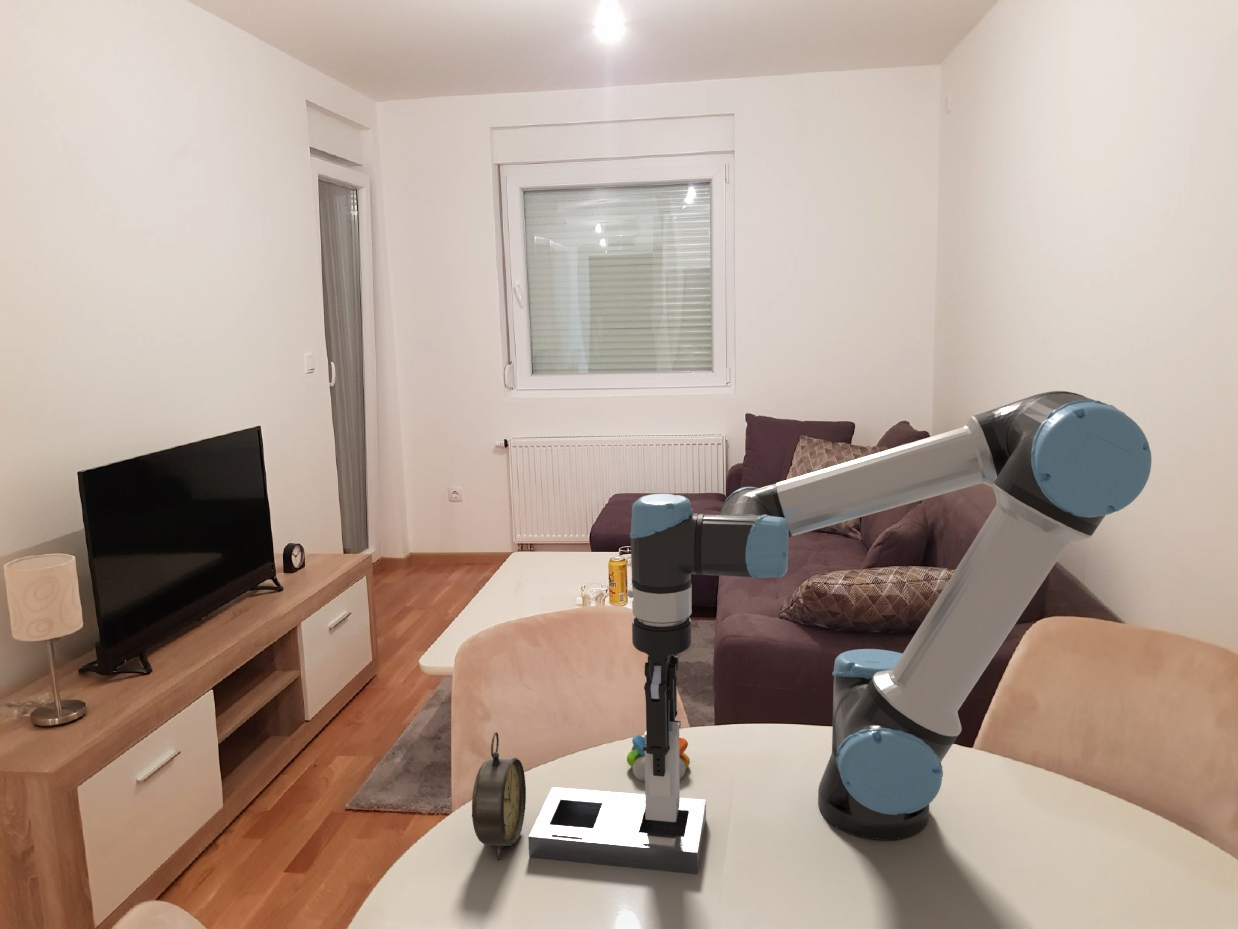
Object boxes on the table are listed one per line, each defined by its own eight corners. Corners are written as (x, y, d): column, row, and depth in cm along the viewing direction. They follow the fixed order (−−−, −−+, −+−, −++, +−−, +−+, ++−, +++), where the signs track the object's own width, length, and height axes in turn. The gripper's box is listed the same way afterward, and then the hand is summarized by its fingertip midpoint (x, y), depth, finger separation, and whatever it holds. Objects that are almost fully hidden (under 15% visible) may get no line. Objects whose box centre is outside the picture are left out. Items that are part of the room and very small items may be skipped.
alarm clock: (508, 871, 114) (502, 755, 111) (467, 868, 115) (461, 752, 112) (529, 822, 124) (525, 715, 121) (492, 819, 125) (487, 713, 122)
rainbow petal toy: (691, 786, 133) (691, 741, 132) (627, 787, 133) (626, 742, 132) (687, 757, 141) (687, 715, 140) (627, 758, 141) (626, 716, 140)
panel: (706, 823, 123) (706, 798, 122) (697, 878, 112) (697, 851, 111) (553, 809, 127) (552, 785, 127) (529, 861, 116) (528, 835, 115)
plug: (679, 805, 119) (679, 718, 117) (675, 822, 115) (675, 732, 113) (650, 802, 120) (649, 716, 117) (645, 819, 116) (644, 730, 114)
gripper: (643, 593, 121) (644, 750, 126) (620, 640, 105) (623, 819, 109) (697, 595, 120) (697, 754, 124) (683, 643, 103) (683, 825, 108)
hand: (662, 784), depth 117 cm, fingers closed on plug, 4 cm apart
